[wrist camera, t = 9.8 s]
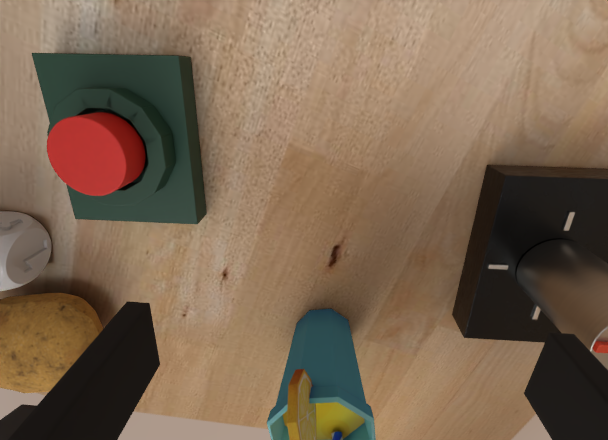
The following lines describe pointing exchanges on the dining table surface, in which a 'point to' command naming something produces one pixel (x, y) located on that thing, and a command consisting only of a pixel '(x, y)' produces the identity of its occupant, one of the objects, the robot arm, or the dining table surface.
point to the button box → (144, 119)
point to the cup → (321, 385)
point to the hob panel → (525, 243)
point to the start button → (96, 152)
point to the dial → (569, 291)
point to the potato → (43, 338)
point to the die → (21, 249)
